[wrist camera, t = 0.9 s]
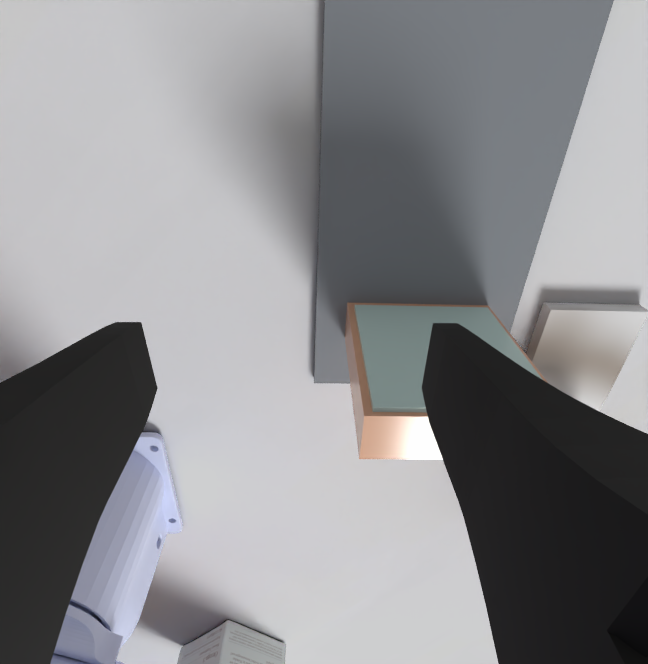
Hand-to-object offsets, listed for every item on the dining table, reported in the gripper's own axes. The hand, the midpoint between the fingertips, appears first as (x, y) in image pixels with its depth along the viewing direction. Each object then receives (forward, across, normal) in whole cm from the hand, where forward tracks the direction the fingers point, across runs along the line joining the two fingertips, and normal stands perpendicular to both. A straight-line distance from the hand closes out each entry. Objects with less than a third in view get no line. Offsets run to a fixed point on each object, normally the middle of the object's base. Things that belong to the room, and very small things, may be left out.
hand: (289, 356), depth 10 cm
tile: (+9, -6, +4) cm, 12 cm away
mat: (+10, -6, -1) cm, 11 cm away
